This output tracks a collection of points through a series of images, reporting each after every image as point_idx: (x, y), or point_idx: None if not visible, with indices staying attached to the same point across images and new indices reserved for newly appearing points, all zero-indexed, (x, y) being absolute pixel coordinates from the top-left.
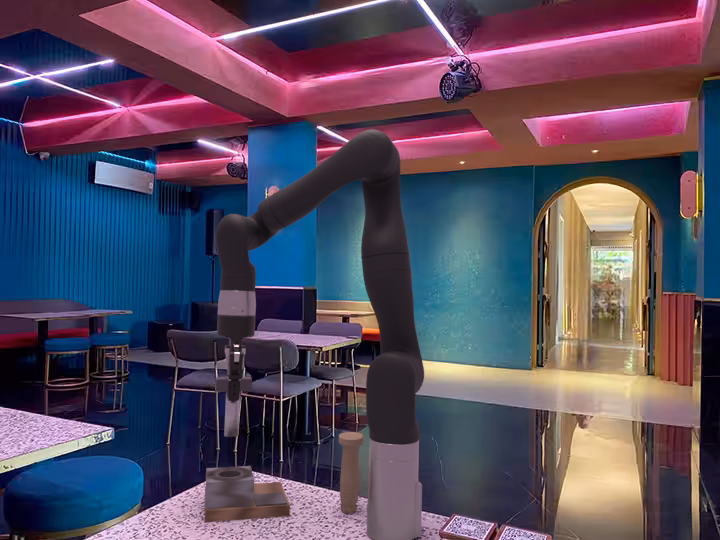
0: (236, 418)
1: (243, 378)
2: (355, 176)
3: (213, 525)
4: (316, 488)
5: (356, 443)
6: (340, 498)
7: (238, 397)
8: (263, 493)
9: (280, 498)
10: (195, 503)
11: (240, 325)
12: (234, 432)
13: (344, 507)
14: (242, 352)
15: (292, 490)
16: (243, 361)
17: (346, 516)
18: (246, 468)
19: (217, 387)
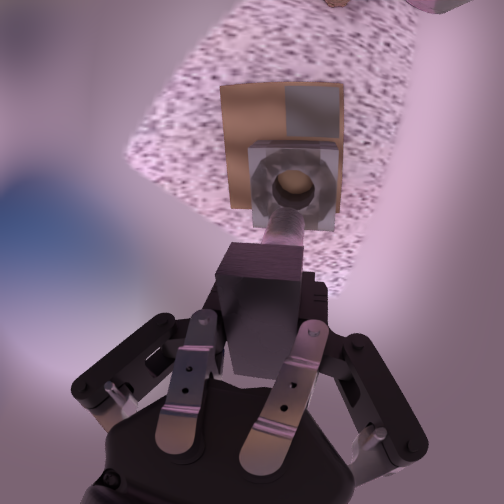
0: (299, 238)
1: (272, 310)
2: None
3: (352, 196)
4: (217, 29)
5: None
6: (337, 3)
7: (314, 278)
8: (277, 118)
9: (315, 94)
10: None
11: None
12: (302, 223)
13: (346, 4)
14: (420, 458)
15: (222, 66)
16: (308, 398)
17: (355, 7)
18: (263, 157)
19: None
